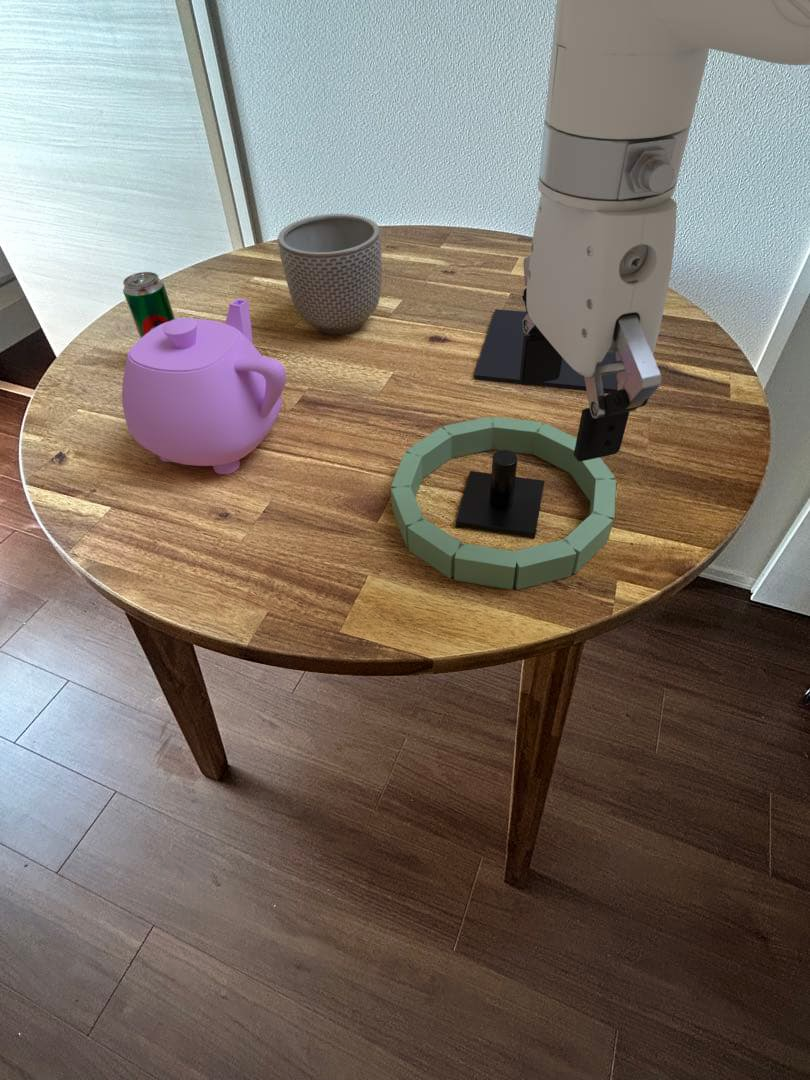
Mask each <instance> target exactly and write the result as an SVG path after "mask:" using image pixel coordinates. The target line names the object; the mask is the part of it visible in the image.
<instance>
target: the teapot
mask: <svg viewBox="0 0 810 1080" xmlns="http://www.w3.org/2000/svg"><path fill="white" fill-rule="evenodd" d="M286 381H287V372H286V369H285V366H284V365H283V364H282V362H281V361H279V360H278V359H275V358H272V357H267V356H263V354H261V352H260V351H259V350H258V349H257V347H256V346H255V345H254V343H253V333H252V322H251V312H250V301H249V299H243V298H239V297H237V298H236V299H234V300H233V301H231V302H230V303H229V304H228V311H227V316H226V318H225V322H221V321H218V320H212V319H205V318H204V319H203V318H191V317H178V318H175V319H174V320H171V321H169V322H166V323H163V324H161V325H159V326H157V327H155V328H154V329H152V330H151V331H149V332H148V333H147V334H146V335H144V336H143V337H142V338H141V339H140V338H139V339H138V340H137V341H136V342H135V343H134V344H133V345H132V347H131V348H130V349H129V351H128V353H127V357H126V361H125V365H124V371H123V378H122V387H121V389H122V390H121V401H122V402H121V403H122V409H123V415H124V419H125V423H126V426H127V429H128V432H129V434H130V436H131V437H132V438H133V439H134V440H135V442H136V443H138V444H139V445H140V446H141V447H143V448H144V449H146V450H147V451H149V452H150V453H153V454H155V455H156V456H159V459H160V460H161V462H162V461H163V462H165V463H172V462H173V463H176V464H181V465H187V466H195V467H196V466H198V467H200V466H201V467H208V466H209V467H211V466H212V468H213V471H214V472H215V473H217V474H219V475H229V474H232V473H234V472H236V471H237V470H238V469H239V468H240V465H241V462H240V460H241V459H243V458H245V457H246V456H248V455H249V454H250V453H251V452H253V451H254V450H255V449H256V448H257V447H258V446H259V445H261V443H262V442H263V441H264V440H265V438H266V437H267V436H268V434H269V433H270V432H271V429H272V428H273V426H274V424H275V423H276V421H277V419H278V417H279V415H280V412H281V410H282V405H283V403H282V402H283V397H282V393H283V392H284V389H285V387H286V383H287V382H286Z"/></svg>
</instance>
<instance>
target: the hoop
mask: <svg viewBox="0 0 810 1080" xmlns="http://www.w3.org/2000/svg"><path fill="white" fill-rule="evenodd" d="M576 440H577V437H576V436H573V435H571V434H569V433H567V432H565V431H563V430H561V429H558V428H557V427H555V426H553V425H551V424H549V423H546V422H544V423H543V422H542V421H535V420H528V419H519V418H510V417H501V416H492V418H491V416H485V417H480V418H476V419H471V420H466V421H461V422H455V423H450V424H446V425H443V426H442V427H438V428H437V429H436V430H434V431H433V432H431V433H430V434H428V435H427V436H426V437H424V438H423V439H421V440H419V441H418V442H417V443H415V444H413V445H412V446H410V447H409V448H408V449H406V451H405V452H404V453H403V455H402V457H401V460H400V463H399V465H398V467H397V469H396V472H395V475H394V477H393V480H392V483H391V485H390V497H391V508H392V510H391V511H392V513H393V516H394V519H395V522H396V524H397V527H398V529H399V531H400V534H401V537H402V539H403V541H404V544H405V547H406V548H408V551H409V552H411V553H412V554H414V555H415V556H416V557H418V558H419V559H421V560H422V561H423V562H425V563H426V564H428V565H429V566H431V567H432V568H434V569H435V570H437V571H438V572H440V573H441V574H443V575H444V576H445V577H447V578H448V579H452V578H453V580H454V581H456V582H463V583H468V584H475V585H480V586H486V587H493V588H499V589H504V590H511V591H512V590H513V589H514V588H515V589H516V590H517V591H518V590H522V589H526V588H530V587H534V586H538V585H542V584H546V583H549V582H555V581H558V580H562V579H565V578H566V579H567V578H570V577H572V574H573V575H576V573H578V572H579V571H580V570H581V569H582V568H583V567H584V566H585V565H586V564H587V563H588V562H589V561H590V560H591V559H592V558H593V557H594V556H595V555H596V554H597V553H598V552H599V551H600V550H601V549H602V548H603V547H604V546H605V545H606V544H608V541H609V538H610V535H611V531H612V528H613V523H614V520H615V513H616V512H615V511H616V491H617V479H616V476H615V475H614V474H613V473H612V471H611V470H610V469H609V467H608V466H607V465H606V463H605V462H604V461H603V459H602V457H599V458H595V459H590V460H585V461H578V460H577V459H576V457H575V456H574V451H575V445H576ZM491 450H493V451H500V450H509V451H512V452H514V453H515V454H516V453H517V454H523V455H525V454H526V455H532V456H535V457H537V458H539V459H542V460H543V461H545V462H547V463H549V464H551V465H553V466H555V467H557V468H558V469H560V470H563V471H564V472H567V473H569V474H570V476H571V478H572V479H573V480H574V481H575V483H576V484H577V485H578V487H579V488H580V490H581V491H582V493H583V494H584V495H585V497H586V498H587V500H588V501H589V513H588V516H587V517H586V518H585V519H584V520H583V521H581V523H579V525H578V526H576V527H575V528H574V529H573V530H572V531H571V532H570V533H568V535H567V536H566V537H564V538H563V539H558V540H555V541H550V542H546V543H542V544H538V545H534V546H529V547H526V548H522V549H517V550H510V549H502V548H498V547H497V548H496V547H490V546H485V545H477V544H471V543H465V542H462V541H460V540H459V539H457V538H455V537H454V536H453V535H451V534H449V533H447V532H446V531H444V529H442V528H440V527H438V526H437V525H435V524H434V523H432V522H431V521H429V520H428V519H426V518H425V516H424V515H423V512H422V510H421V508H420V505H419V503H418V501H417V499H416V498H417V494H418V492H419V489H420V487H421V483H422V481H423V479H424V478H426V477H427V476H429V475H430V474H431V473H433V472H434V471H436V470H437V469H438V468H440V467H442V466H443V465H444V464H445V463H447V462H448V461H449V460H451V459H454V458H459V457H463V456H468V455H472V454H477V453H482V452H486V451H491Z"/></svg>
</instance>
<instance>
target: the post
mask: <svg viewBox="0 0 810 1080" xmlns="http://www.w3.org/2000/svg"><path fill="white" fill-rule="evenodd" d="M517 467H518V455H517V454H516V452H512V451H509V450H496V451H495V452H494V453H493V455H492V462H491V473H490V472H483V471H482V472H481V471H475V470H470V471H469V474H468V477H467V480H466V484H465V488H464V491H463V495H462V498H461V501H460V505H459V509H458V511H457V516H456V519H455V527H456V528H463V529H469V530H475V531H482V532H489V533H494V534H503V535H509V536H515V537H521V538H529V539H536V535H537V528H538V522H539V518H540V517H539V516H540V510H541V505H542V497H543V491H544V485H545V480H543V479H536V478H528V477H520V476H517Z"/></svg>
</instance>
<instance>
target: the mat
mask: <svg viewBox="0 0 810 1080" xmlns="http://www.w3.org/2000/svg"><path fill="white" fill-rule="evenodd" d="M526 315H527V312H526V311H523V310H511V309H497V308H495V310H494V313H493V315H492V319H491V322H490V325H489V327H488V331H487V334H486V337H485V340H484V343H483V346H482V348H481V352H480V355H479V358H478V361H477V364H476V367H475V371H474V374H473V379H474V380H482V381H492V382H500V383H501V382H502V383H509V384H511V383H512V384H519V385H520V384H521V385H523V384H522V383H521V381H520V379H519V378H520V368H521V359H522V349H523V339H524V336H530V334H525V333H524V331H523V325H522V323H523V319H524V317H525V316H526ZM611 362H616V355H615V351H614V352H612V353H607V354H606V355H605V357H604V359H603V360H602V362H598V363H597V365H600V364H605V363H611ZM616 373H617V372H616ZM616 373H611V374H606V375H601V380H602V386H603V392H604V393H607V394H610V393H612V392H614V391H617V390H619V388H618V382H617V375H616ZM531 386H541V387H548V388H549V387H550V388H559V389H569V390H579V391H586V385H585V379H584V376H583V375H581V374H579V373H578V372H576V371H575V370H574V369H573V368H572V367H571V366H570V365H569V364H568V363H567V362H566V361H565V360H564V359H563V358H562V363H561V370H560V375H559V378H558V379H556V380H552V381H547V382H541V383H536V384H531Z"/></svg>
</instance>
